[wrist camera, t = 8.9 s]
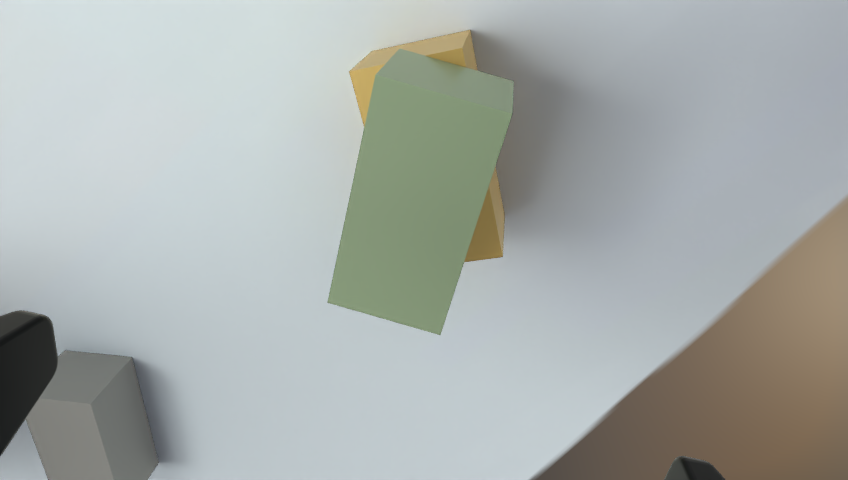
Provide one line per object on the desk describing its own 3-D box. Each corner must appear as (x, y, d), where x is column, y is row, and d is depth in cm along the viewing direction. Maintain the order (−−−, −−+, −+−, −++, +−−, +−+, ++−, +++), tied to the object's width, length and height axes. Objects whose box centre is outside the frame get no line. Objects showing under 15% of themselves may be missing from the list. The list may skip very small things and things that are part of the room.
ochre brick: (504, 213, 21) (502, 256, 18) (417, 226, 21) (403, 269, 19) (470, 29, 18) (462, 47, 16) (373, 50, 19) (349, 71, 16)
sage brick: (451, 275, 19) (440, 335, 16) (354, 248, 19) (327, 302, 16) (513, 81, 16) (512, 114, 13) (399, 48, 16) (375, 74, 13)
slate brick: (160, 459, 29) (124, 514, 26) (100, 452, 29) (57, 505, 26) (134, 354, 26) (90, 404, 23) (67, 347, 26) (16, 395, 24)
